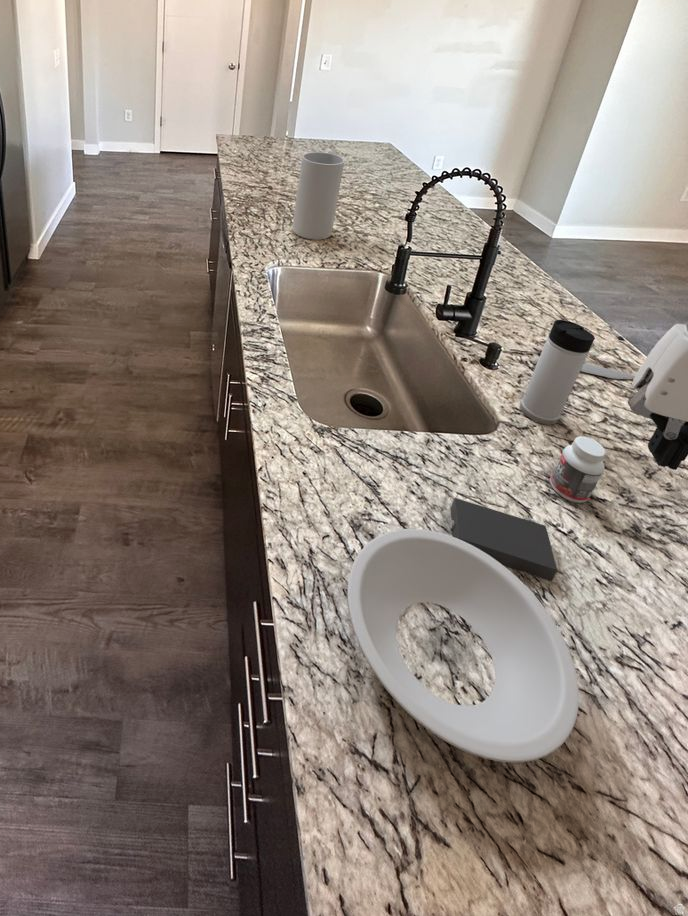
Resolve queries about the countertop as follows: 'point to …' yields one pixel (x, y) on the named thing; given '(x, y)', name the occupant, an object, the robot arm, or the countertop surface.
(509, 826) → the countertop surface
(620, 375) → the chef's knife
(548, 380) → the travel mug
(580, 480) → the pill bottle
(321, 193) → the cylinder vase
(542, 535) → the dark gray rectangular block
